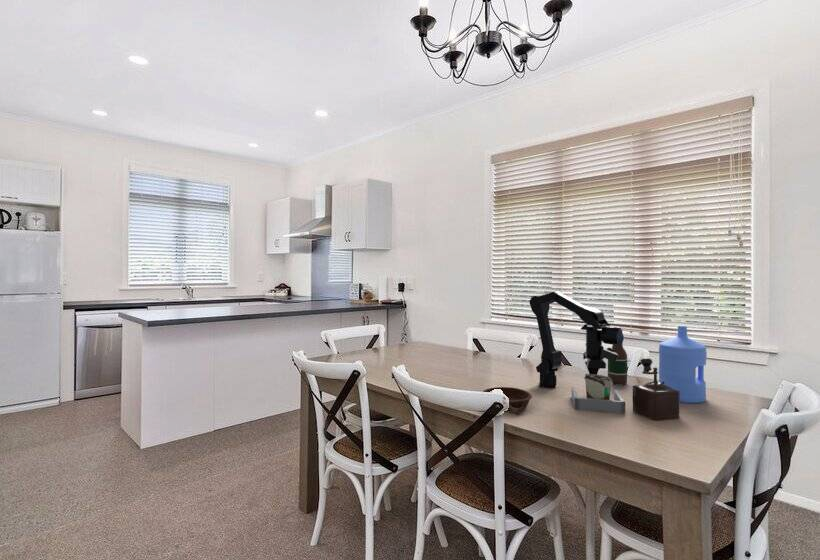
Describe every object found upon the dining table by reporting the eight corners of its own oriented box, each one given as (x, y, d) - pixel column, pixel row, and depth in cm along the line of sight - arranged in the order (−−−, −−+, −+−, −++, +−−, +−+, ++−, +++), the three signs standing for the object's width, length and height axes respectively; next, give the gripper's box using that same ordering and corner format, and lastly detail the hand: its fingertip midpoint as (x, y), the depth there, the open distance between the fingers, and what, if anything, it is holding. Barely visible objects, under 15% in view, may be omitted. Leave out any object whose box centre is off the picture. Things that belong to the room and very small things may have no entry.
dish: (514, 396, 167) (514, 383, 167) (544, 414, 145) (544, 400, 145) (473, 399, 163) (473, 386, 163) (497, 418, 142) (497, 403, 141)
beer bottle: (631, 384, 183) (631, 329, 183) (618, 385, 180) (618, 330, 180) (616, 379, 190) (617, 327, 190) (603, 381, 187) (604, 328, 187)
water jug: (664, 402, 158) (665, 328, 157) (653, 390, 173) (654, 323, 172) (712, 405, 153) (713, 330, 153) (697, 393, 168) (698, 324, 168)
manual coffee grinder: (682, 418, 140) (683, 365, 140) (654, 421, 138) (655, 367, 138) (646, 404, 156) (647, 356, 155) (621, 406, 153) (621, 357, 153)
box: (574, 409, 150) (575, 398, 150) (571, 396, 165) (571, 386, 164) (625, 413, 145) (625, 402, 145) (617, 400, 160) (617, 390, 160)
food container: (620, 408, 151) (620, 380, 151) (605, 409, 150) (606, 381, 149) (597, 398, 163) (598, 372, 163) (584, 399, 162) (584, 373, 161)
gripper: (621, 347, 153) (620, 389, 153) (612, 339, 171) (612, 377, 171) (588, 345, 156) (588, 387, 156) (582, 338, 174) (582, 375, 174)
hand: (593, 381), depth 164 cm, fingers closed
